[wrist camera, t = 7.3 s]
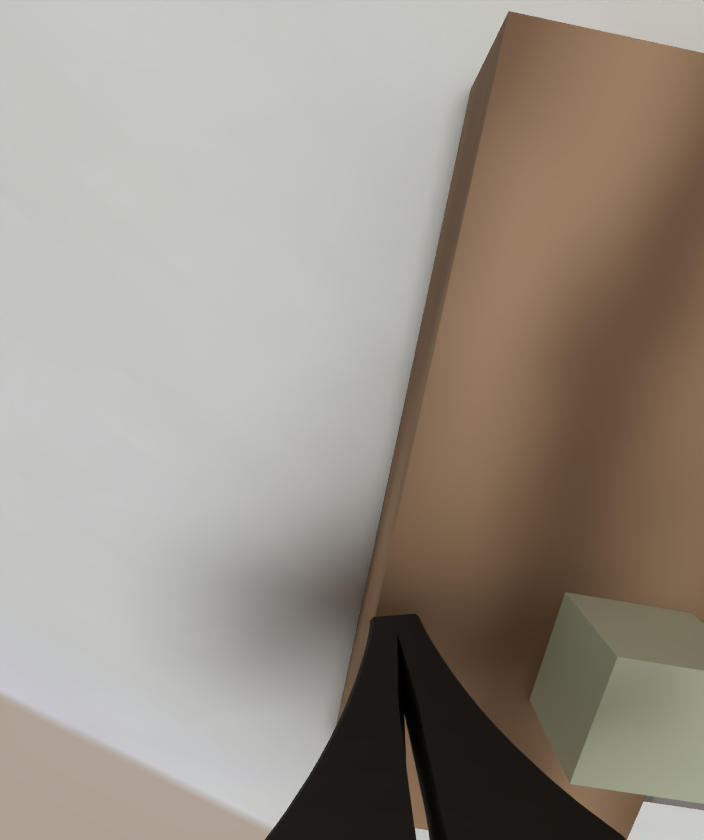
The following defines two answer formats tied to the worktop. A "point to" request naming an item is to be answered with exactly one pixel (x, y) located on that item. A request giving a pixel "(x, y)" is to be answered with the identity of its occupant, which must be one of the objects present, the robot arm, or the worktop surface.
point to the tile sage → (625, 697)
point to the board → (554, 374)
